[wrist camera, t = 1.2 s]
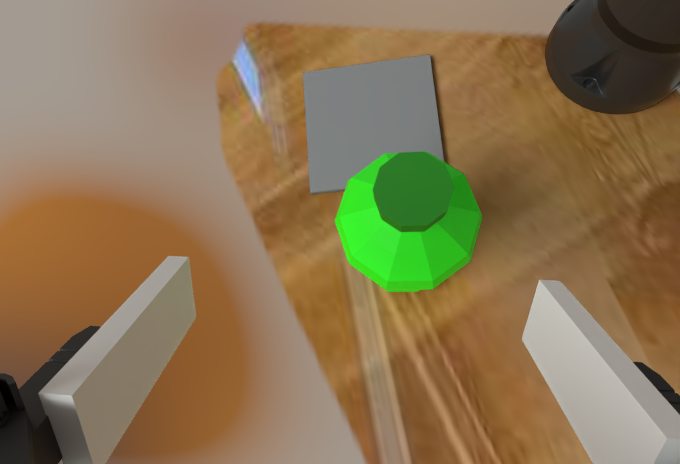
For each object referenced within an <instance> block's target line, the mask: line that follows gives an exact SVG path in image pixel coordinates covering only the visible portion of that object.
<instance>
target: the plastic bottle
mask: <svg viewBox="0 0 680 464" xmlns="http://www.w3.org/2000/svg"><path fill="white" fill-rule="evenodd" d="M482 218H483V216H482V214H481V211H480V209H479V206H478V204H477V202H476V199H475V197H474V195H473V192H472V190H471V187H470V185H469V183H468V180H467V178H466V175H464V174H463V173H462V172H460V171H458V170H457V169H455V168H453V167H452V166H450V165H448V164H447V163H445V162H444V161H442V160H440V159H439V158H437V157H435V156H434V155H432V154H430V153H429V152H424V151H422V152H401V153H385V154H383V155H381V156H380V157H379V158H377V159H376V160H375V161H373V162H372V163H371V164H369V165H368V166H367V167H365V168H364V169H363V170H361V171H360V172H359V173H357V174H356V175H355V176H353V177H352V178H350V179H349V180H348V182H347V185H346V188H345V191H344V194H343V198H342V201H341V204H340V207H339V210H338V213H337V216H336V219H335V223H336V226H337V229H338V232H339V235H340V238H341V241H342V244H343V247H344V250H345V253H346V256H347V259H348V262H349V264H350V265H352V266H353V267H355V268H356V269H357V270H359V271H360V272H362V273H363V274H364V275H365V276H367V277H368V278H370V279H371V280H372V281H374V282H375V283H377V284H378V285H379V286H381V287H382V288H384V289H385V290H387V291H388V292H418V291H420V290H432V289H434V288H435V287H437V286H438V285H439V284H441V283H442V282H443V281H445V280H446V279H447V278H449V277H450V276H451V275H453V274H454V273H455V272H457V271H458V270H459V269H461V268H462V267H463V266H465V265H466V264H467V263H469V262H470V261H471V258H472V255H473V251H474V247H475V244H476V240H477V237H478V233H479V229H480V226H481V222H482Z"/></svg>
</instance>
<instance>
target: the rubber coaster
mask: <svg viewBox="0 0 680 464" xmlns="http://www.w3.org/2000/svg"><path fill="white" fill-rule="evenodd" d="M303 81H304V98H305V114H306V130H307V147H308V163H309V179H310V193H311V194H319V193H329V192H338V191H345V188H346V185H347V182H348V180H349V179H350V178H352V177H353V176H355V175H356V174H357V173H359V172H360V171H361V170H363V169H364V168H365V167H367V166H368V165H369V164H371V163H372V162H373V161H375V160H376V159H377V158H379V157H380V156H381V155H383V154H385V153H401V152H422V151H424V152H429V153H430V154H432V155H434V156H435V157H437V158H439V159H440V160H442V161H444V158H443V150H442V142H441V135H440V127H439V120H438V112H437V105H436V97H435V90H434V82H433V75H432V67H431V59H430V54H429V55H422V56H415V57H408V58H401V59H394V60H387V61H380V62H373V63H366V64H359V65H352V66H345V67H338V68H331V69H324V70H317V71H310V72H303Z"/></svg>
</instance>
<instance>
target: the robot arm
mask: <svg viewBox="0 0 680 464" xmlns="http://www.w3.org/2000/svg"><path fill="white" fill-rule="evenodd" d="M545 59H546V65H547V69H548V72H549V74H550V76H551V78H552V80H553V82H554V83H555V85H556V86H557V87H558V88H559V90H560V91H561V92H562V93H563V94H564V95H565V96H567V97H568V98H569V99H571V100H572V101H574V102H575V103H577V104H579V105H581V106H583V107H585V108H587V109H590V110H593V111H597V112H601V113H608V114H627V113H633V112H638V111H641V110H644V109H647V108H649V107H651V106H653V105H655V104H657V103H658V102H660V101H661V100H663V99H664V98H665V97H667V96H668V95H669V94H671V93H672V92H673V91H674V90H676V89H677V88H678V87H679V86H680V0H574V1H573V2H572V3H571V4H570V5H569V6H568V7H567V8H566V9H565V11H564V12H563V13H562V14H561V16H560V17H559V19H558V20H557V22H556V24H555V25H554V27H553V29H552V30H551V32H550V34H549V37H548V40H547V44H546V50H545ZM195 318H196V312H195V304H194V296H193V287H192V279H191V272H190V263H189V257H179V256H168V257H167V258H166V259H165V260H164V261H163V262H162V263H161V265H160V266H159V267H158V268H157V269H156V270H155V271H154V272H153V273H152V274H151V275H150V276H149V277H148V278H147V279H146V280H145V281H144V282H143V284H141V286H140V287H139V288H138V289H137V290H136V291H135V292H134V293H133V294H132V295H131V296H130V297H129V298H128V299H127V300H126V301H125V302H124V303H123V305H122V306H121V307H120V308H119V309H118V310H117V311H116V312H115V313H114V314H113V315H112V316H111V317H110V318H109V319H108V320H107V321H106V322H105V324H104V325H103V326H102V327H99V326H89V327H88V328H86V329H84V330H83V331H81V332H79V333H78V334H76V335H74V336H73V337H71V338H70V340H68V341H67V343H65V344H64V346H62V347H61V348H60V351H57V352H56V353H55V354H54V355H53V356H52V357H51V358H50V359H49V362H46V363H45V364H44V365H43V366H42V367H41V368H40V369H39V370H38V371H37V372H36V373H35V374H34V375H33V376H32V377H31V378H30V379H29V380H28V381H27V382H26V383H25V384H24V385H23V386H22V387H21V388H20V389H18V388H17V385H16V382H15V380H14V378H13V377H12V376H10V375H7V374H0V464H58V463H59V462H60V460H61V459H62V461H63V464H105V463H106V461H107V460H108V458H109V457H110V455H111V453H112V452H113V450H114V448H115V447H116V445H117V444H118V442H119V440H120V439H121V437H122V436H123V434H124V432H125V431H126V429H127V427H128V426H129V424H130V423H131V421H132V420H133V418H134V416H135V415H136V413H137V411H138V410H139V408H140V407H141V405H142V403H143V401H144V400H145V399H146V397H147V395H148V394H149V392H150V391H151V389H152V387H153V386H154V384H155V383H156V381H157V379H158V378H159V376H160V375H161V373H162V371H163V370H164V368H165V366H166V365H167V363H168V362H169V360H170V358H171V357H172V355H173V354H174V352H175V350H176V349H177V347H178V345H179V344H180V342H181V341H182V339H183V338H184V336H185V334H186V333H187V331H188V329H189V328H190V326H191V325H192V323H193V321H194V320H195ZM522 340H523V342H524V344H525V346H526V347H527V349H528V351H529V353H530V354H531V356H532V358H533V360H534V361H535V363H536V365H537V367H538V368H539V370H540V372H541V374H542V375H543V377H544V379H545V381H546V382H547V384H548V386H549V388H550V389H551V391H552V393H553V395H554V396H555V398H556V400H557V401H558V403H559V405H560V407H561V408H562V410H563V412H564V414H565V415H566V417H567V419H568V421H569V422H570V424H571V426H572V428H573V429H574V431H575V433H576V435H577V436H578V438H579V440H580V442H581V443H582V445H583V447H584V449H585V450H586V452H587V454H588V455H589V457H590V459H591V461H592V462H593V464H680V396H679V395H678V394H677V393H675V392H674V391H675V390H674V389H673V388H672V387H671V386H670V385H669V384H668V383H667V382H666V381H665V380H664V379H663V378H662V377H661V376H660V375H659V374H657V373H656V372H655V371H653V370H652V369H650V368H649V367H647V366H646V365H645V364H643V363H642V362H632V361H631V360H630V359H629V357H628V356H627V355H626V354H625V353H624V352H623V351H622V350H621V348H620V347H619V346H618V345H617V344H616V343H615V342H614V341H613V340H612V338H611V337H610V336H609V335H608V334H607V333H606V332H605V331H604V329H603V328H602V327H601V326H600V325H599V324H598V323H597V322H596V320H595V319H594V318H593V317H592V316H591V315H590V314H589V313H588V312H587V310H586V309H585V308H584V307H583V306H582V305H581V304H580V303H579V301H578V300H577V299H576V298H575V297H574V296H573V295H572V294H571V292H570V291H569V290H568V289H567V288H566V287H565V286H564V285H563V284H562V282H561V281H552V280H539V283H538V286H537V290H536V293H535V296H534V300H533V303H532V306H531V310H530V313H529V316H528V320H527V323H526V326H525V330H524V333H523V336H522Z"/></svg>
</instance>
